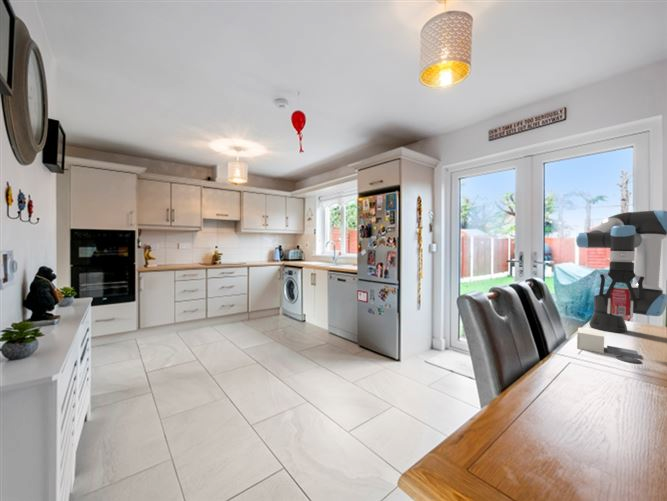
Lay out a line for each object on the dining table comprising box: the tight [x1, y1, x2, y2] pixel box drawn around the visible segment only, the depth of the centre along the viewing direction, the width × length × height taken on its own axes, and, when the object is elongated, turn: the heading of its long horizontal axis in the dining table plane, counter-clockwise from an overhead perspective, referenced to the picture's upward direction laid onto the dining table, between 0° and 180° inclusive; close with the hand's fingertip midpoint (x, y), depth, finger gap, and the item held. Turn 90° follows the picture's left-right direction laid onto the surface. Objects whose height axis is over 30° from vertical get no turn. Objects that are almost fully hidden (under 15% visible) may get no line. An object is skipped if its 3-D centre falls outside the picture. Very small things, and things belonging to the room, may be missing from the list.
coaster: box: [615, 355, 642, 364], centre depth 114 cm, size 7×7×1 cm
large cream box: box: [576, 327, 605, 354], centre depth 128 cm, size 8×11×7 cm
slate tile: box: [606, 345, 640, 359], centre depth 121 cm, size 6×9×2 cm, turn 49°
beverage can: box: [610, 286, 631, 318], centre depth 125 cm, size 6×6×12 cm
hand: (619, 314), depth 125 cm, fingers closed on beverage can, 6 cm apart
